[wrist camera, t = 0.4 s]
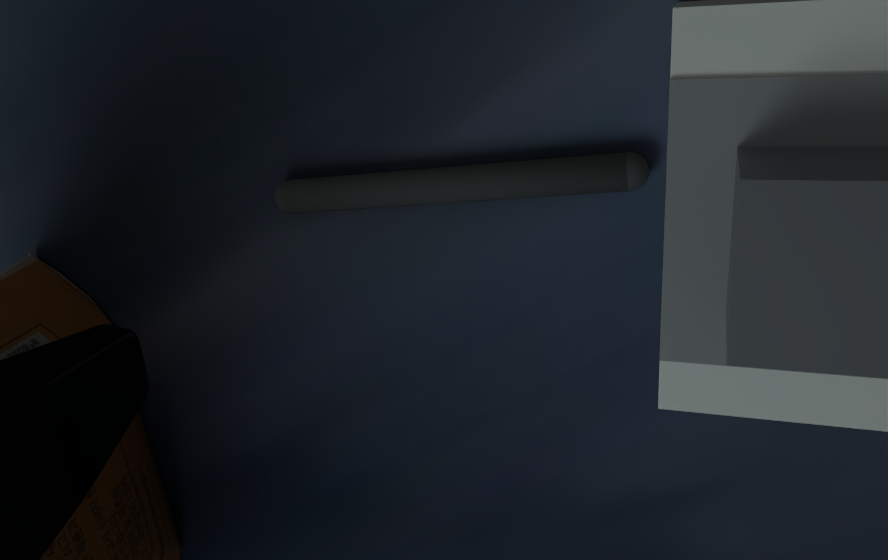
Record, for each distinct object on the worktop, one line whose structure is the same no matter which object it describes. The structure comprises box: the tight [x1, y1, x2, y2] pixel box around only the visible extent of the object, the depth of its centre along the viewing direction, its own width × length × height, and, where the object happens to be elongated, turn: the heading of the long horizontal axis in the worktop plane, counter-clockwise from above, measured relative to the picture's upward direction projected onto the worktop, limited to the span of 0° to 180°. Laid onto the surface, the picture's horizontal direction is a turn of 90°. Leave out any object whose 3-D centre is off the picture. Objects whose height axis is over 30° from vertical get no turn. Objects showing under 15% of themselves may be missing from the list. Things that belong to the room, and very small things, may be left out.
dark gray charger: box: [726, 147, 888, 379], centre depth 16 cm, size 4×4×3 cm
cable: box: [274, 152, 649, 213], centre depth 22 cm, size 11×1×1 cm, turn 100°
